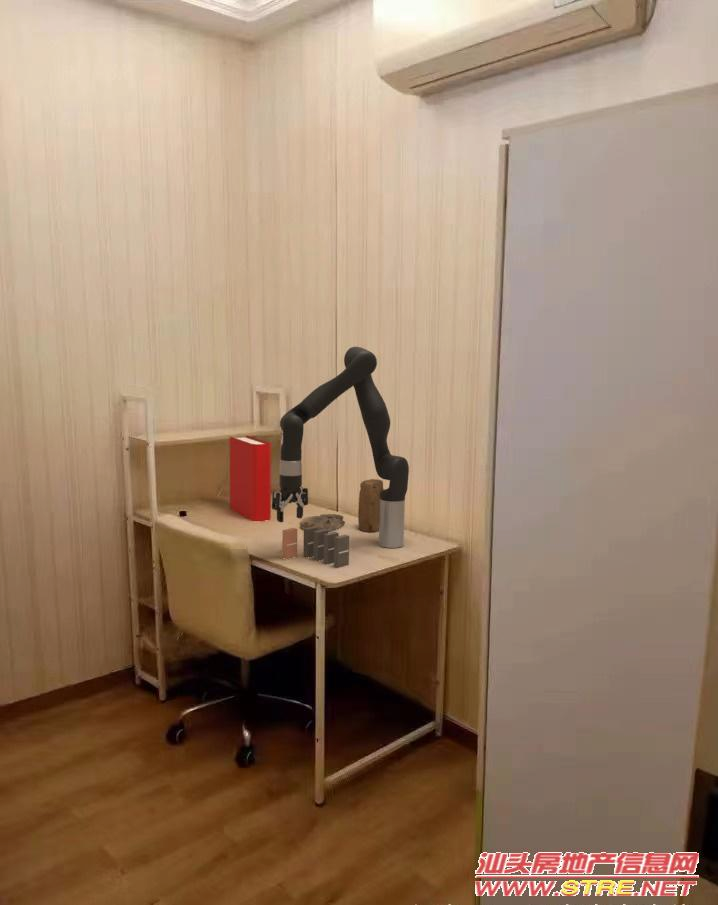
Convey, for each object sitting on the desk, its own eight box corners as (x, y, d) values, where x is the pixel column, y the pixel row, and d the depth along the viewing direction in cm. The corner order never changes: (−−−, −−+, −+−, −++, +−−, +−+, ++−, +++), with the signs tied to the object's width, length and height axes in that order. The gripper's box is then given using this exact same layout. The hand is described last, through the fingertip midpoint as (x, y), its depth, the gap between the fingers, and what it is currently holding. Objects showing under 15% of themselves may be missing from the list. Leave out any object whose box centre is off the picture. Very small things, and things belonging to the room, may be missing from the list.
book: (229, 508, 322) (229, 436, 317) (247, 506, 326) (246, 435, 321) (254, 522, 299) (254, 444, 294) (272, 520, 303) (272, 443, 298)
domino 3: (313, 559, 250) (313, 531, 248) (323, 556, 253) (324, 528, 252) (317, 561, 248) (317, 532, 247) (327, 558, 252) (328, 530, 250)
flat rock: (329, 520, 306) (294, 528, 291) (329, 509, 305) (295, 516, 290) (354, 527, 297) (320, 535, 282) (355, 515, 296) (320, 523, 281)
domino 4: (323, 563, 246) (323, 534, 245) (333, 560, 250) (334, 531, 248) (327, 564, 245) (328, 535, 243) (338, 561, 248) (338, 532, 247)
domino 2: (303, 556, 253) (303, 528, 251) (313, 553, 256) (314, 526, 255) (307, 558, 251) (307, 529, 250) (318, 555, 255) (318, 527, 254)
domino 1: (282, 558, 250) (282, 530, 249) (293, 555, 254) (293, 527, 252) (286, 559, 249) (286, 531, 247) (297, 557, 252) (297, 528, 251)
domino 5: (333, 566, 243) (334, 537, 241) (344, 563, 246) (344, 534, 245) (338, 567, 241) (338, 538, 240) (348, 564, 245) (349, 535, 243)
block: (370, 533, 285) (371, 483, 282) (356, 530, 290) (357, 480, 287) (388, 528, 293) (389, 479, 290) (374, 525, 298) (375, 477, 295)
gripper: (282, 476, 239) (281, 525, 241) (313, 472, 249) (312, 518, 252) (267, 473, 244) (266, 521, 246) (299, 469, 254) (298, 515, 257)
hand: (290, 519), depth 249 cm, fingers open, 8 cm apart
